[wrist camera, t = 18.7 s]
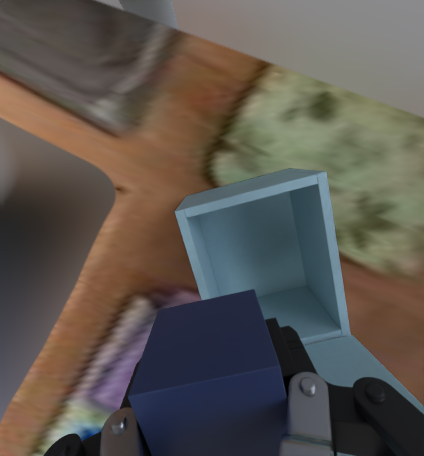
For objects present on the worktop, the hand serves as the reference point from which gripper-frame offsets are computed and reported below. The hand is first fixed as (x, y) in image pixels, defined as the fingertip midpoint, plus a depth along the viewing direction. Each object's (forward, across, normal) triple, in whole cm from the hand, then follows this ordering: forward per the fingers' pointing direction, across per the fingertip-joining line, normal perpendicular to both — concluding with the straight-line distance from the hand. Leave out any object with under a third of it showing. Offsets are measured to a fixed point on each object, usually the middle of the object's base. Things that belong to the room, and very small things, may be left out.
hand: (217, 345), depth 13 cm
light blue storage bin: (+19, -4, +2) cm, 20 cm away
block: (0, 0, 0) cm, 0 cm away
